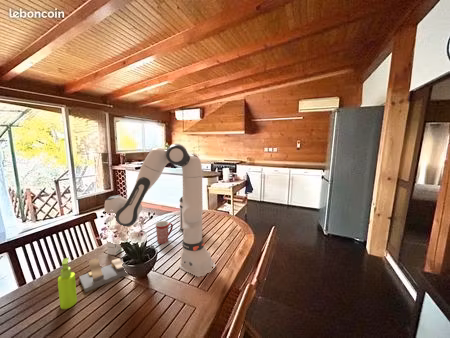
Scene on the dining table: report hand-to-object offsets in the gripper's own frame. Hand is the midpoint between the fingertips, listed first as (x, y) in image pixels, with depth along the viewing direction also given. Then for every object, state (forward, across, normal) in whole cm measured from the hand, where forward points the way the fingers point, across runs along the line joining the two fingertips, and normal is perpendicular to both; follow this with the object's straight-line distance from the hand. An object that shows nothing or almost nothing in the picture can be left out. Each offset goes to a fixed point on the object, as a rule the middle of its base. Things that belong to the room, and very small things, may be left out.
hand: (117, 248), depth 112 cm
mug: (+13, +11, -35) cm, 39 cm away
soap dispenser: (+12, -10, +24) cm, 29 cm away
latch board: (+12, -2, +6) cm, 14 cm away
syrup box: (+12, +19, -4) cm, 23 cm away
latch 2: (+9, -2, +1) cm, 9 cm away
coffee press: (+13, +17, -59) cm, 62 cm away
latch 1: (+6, -3, +12) cm, 13 cm away
